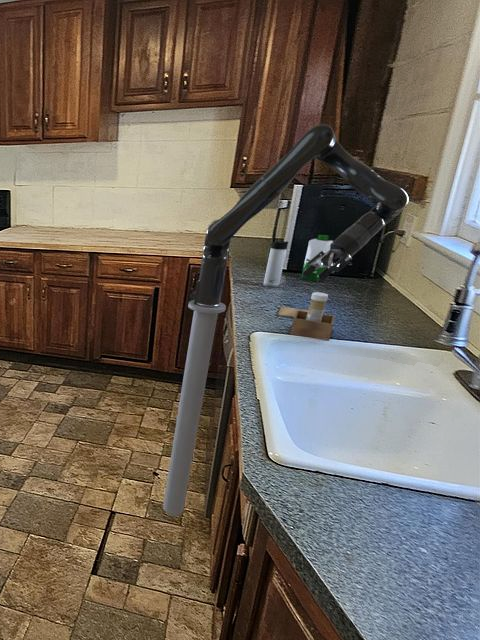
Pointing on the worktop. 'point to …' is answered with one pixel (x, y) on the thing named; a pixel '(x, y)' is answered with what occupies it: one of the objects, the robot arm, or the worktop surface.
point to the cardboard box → (312, 326)
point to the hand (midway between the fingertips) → (311, 277)
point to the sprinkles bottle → (317, 306)
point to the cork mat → (288, 311)
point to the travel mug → (275, 264)
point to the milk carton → (313, 250)
